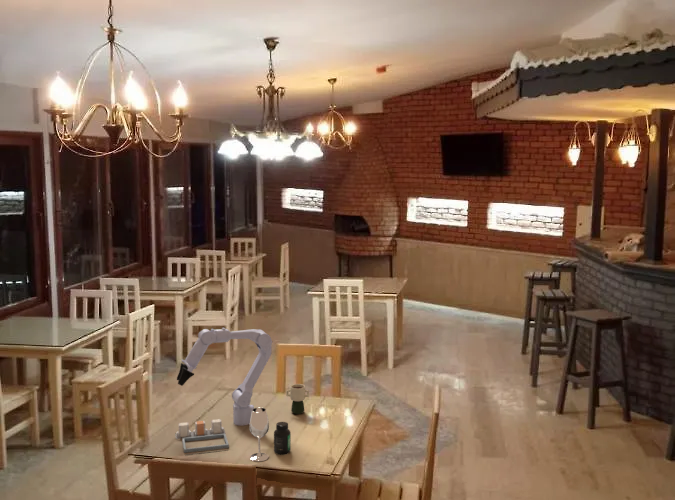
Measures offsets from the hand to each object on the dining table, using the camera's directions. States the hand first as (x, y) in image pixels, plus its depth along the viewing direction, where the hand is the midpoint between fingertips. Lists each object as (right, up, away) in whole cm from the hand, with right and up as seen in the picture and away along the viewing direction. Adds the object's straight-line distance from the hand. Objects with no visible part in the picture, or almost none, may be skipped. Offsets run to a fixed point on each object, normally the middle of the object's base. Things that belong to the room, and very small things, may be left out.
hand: (179, 382), depth 291 cm
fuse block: (+9, -23, +1) cm, 25 cm away
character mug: (+49, -20, +29) cm, 61 cm away
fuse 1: (+2, -22, -1) cm, 23 cm away
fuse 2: (+16, -22, +3) cm, 27 cm away
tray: (+13, -25, -10) cm, 30 cm away
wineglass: (+37, -27, -20) cm, 50 cm away
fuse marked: (+9, -22, +1) cm, 24 cm away
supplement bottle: (+46, -26, -14) cm, 54 cm away
